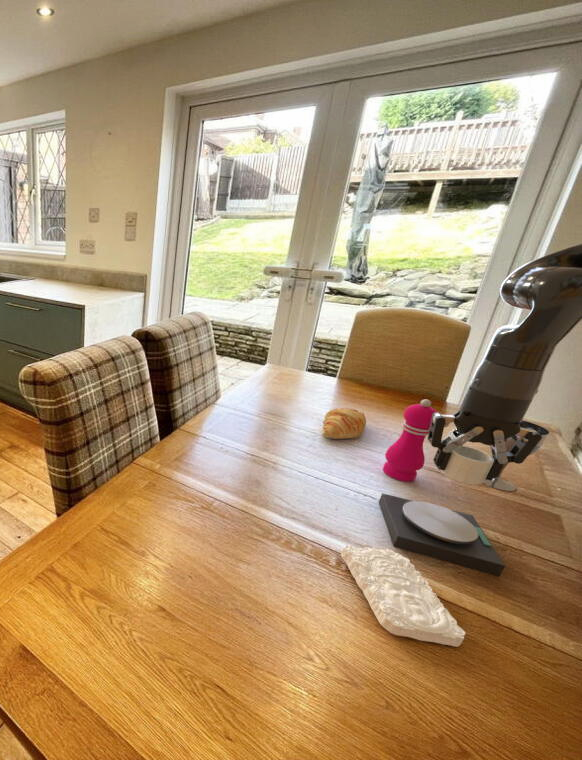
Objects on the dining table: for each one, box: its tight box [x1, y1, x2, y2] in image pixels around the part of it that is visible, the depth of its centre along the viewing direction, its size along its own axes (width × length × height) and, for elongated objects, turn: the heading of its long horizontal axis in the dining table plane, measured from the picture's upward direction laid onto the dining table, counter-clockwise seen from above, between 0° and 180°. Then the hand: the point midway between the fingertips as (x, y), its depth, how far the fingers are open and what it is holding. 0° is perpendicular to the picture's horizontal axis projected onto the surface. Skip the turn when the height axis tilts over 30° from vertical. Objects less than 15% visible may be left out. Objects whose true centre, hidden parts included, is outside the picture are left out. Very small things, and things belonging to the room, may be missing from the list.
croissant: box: [321, 407, 367, 440], centre depth 114 cm, size 21×10×8 cm, turn 124°
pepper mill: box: [382, 399, 438, 483], centre depth 92 cm, size 7×7×20 cm
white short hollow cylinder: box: [441, 444, 494, 486], centre depth 71 cm, size 6×6×5 cm
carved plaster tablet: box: [340, 544, 466, 648], centre depth 64 cm, size 11×16×3 cm
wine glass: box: [483, 419, 550, 492], centre depth 90 cm, size 8×8×15 cm
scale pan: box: [402, 500, 478, 544], centre depth 76 cm, size 11×11×1 cm
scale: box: [378, 493, 506, 577], centre depth 76 cm, size 15×14×3 cm
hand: (462, 472), depth 72 cm, fingers closed on white short hollow cylinder, 6 cm apart
